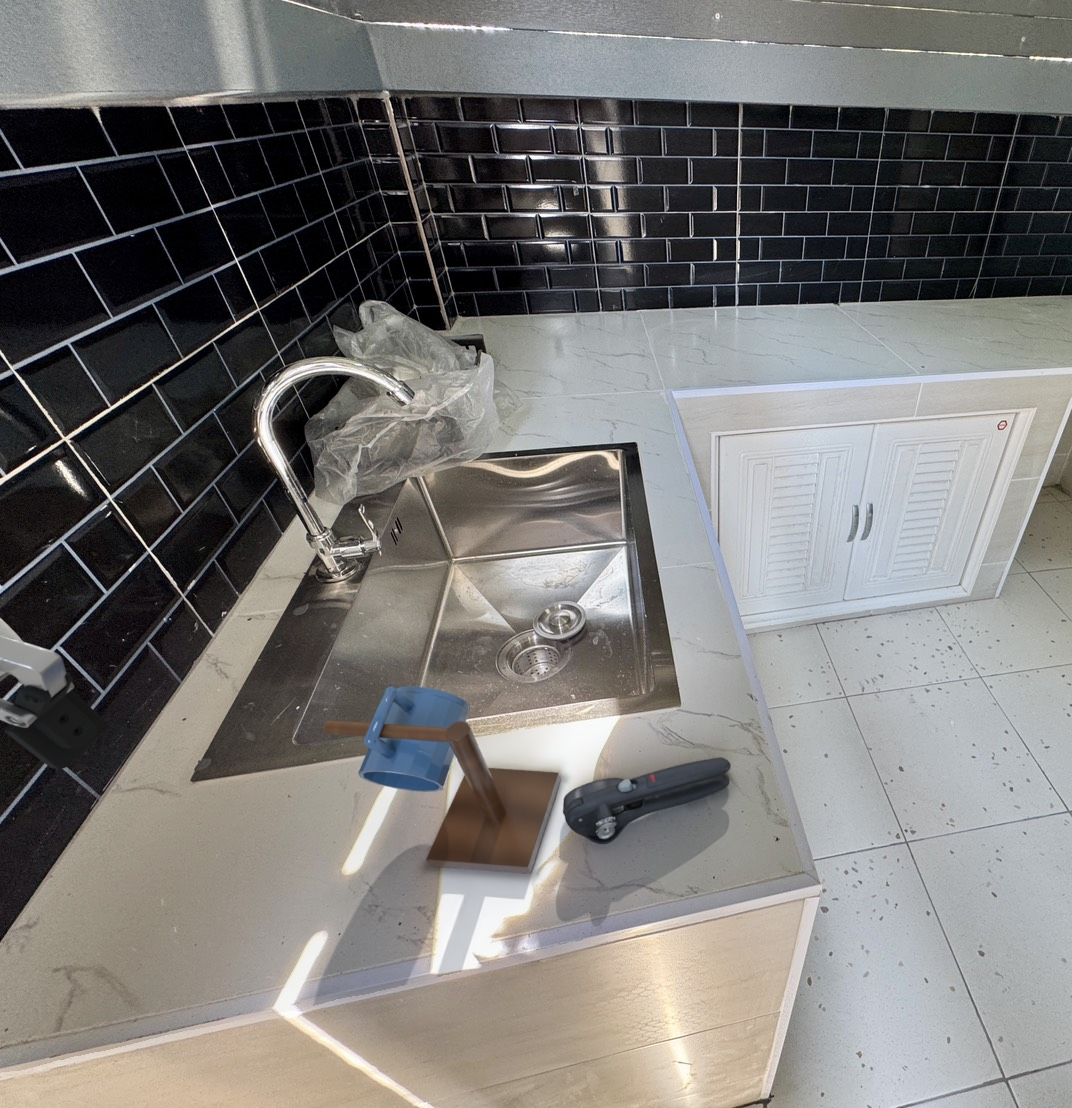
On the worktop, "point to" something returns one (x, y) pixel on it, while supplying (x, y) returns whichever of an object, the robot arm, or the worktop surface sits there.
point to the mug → (412, 759)
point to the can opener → (639, 797)
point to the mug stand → (480, 803)
